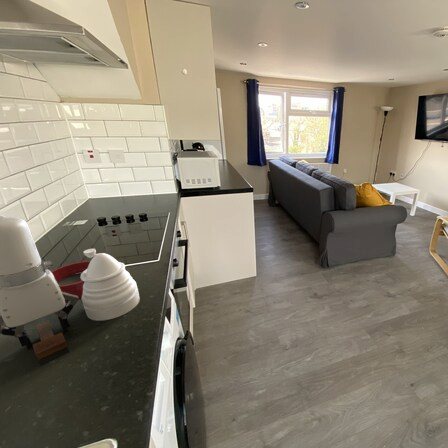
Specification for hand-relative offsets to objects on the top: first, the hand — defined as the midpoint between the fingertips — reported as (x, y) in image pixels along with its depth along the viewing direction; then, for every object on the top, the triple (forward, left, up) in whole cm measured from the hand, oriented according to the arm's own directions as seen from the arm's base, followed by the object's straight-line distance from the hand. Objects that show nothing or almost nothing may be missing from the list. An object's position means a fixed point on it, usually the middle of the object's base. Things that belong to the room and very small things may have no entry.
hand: (47, 337), depth 63 cm
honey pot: (+10, +11, -1) cm, 15 cm away
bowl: (-4, +23, -1) cm, 23 cm away
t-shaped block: (+2, -2, -1) cm, 3 cm away
